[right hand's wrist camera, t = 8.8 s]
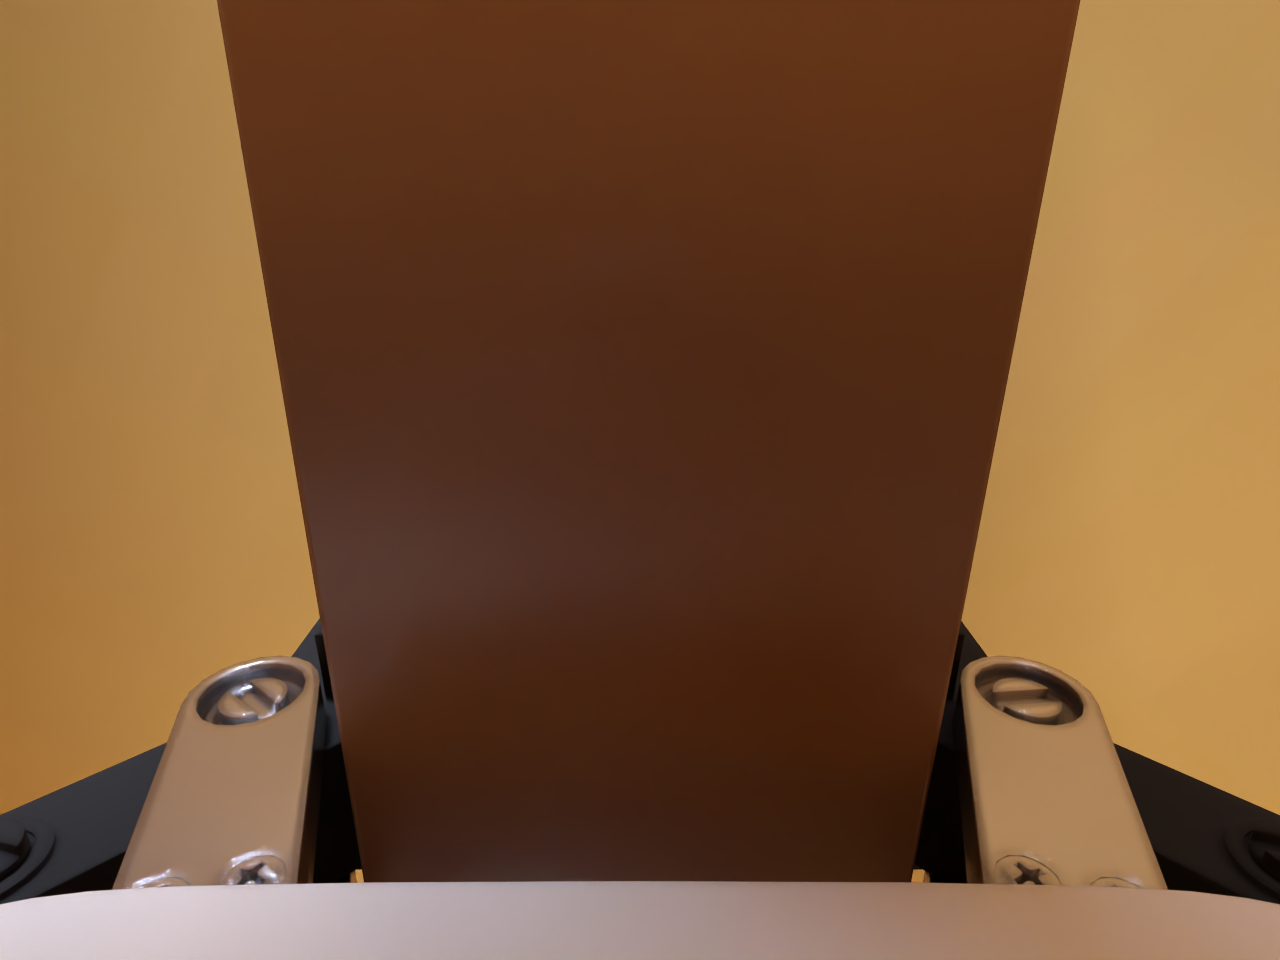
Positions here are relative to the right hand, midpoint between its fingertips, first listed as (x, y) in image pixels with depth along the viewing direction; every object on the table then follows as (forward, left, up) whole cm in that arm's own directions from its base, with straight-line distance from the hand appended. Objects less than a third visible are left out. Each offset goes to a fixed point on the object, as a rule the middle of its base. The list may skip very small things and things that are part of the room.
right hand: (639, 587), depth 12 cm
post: (+18, 0, -3) cm, 19 cm away
